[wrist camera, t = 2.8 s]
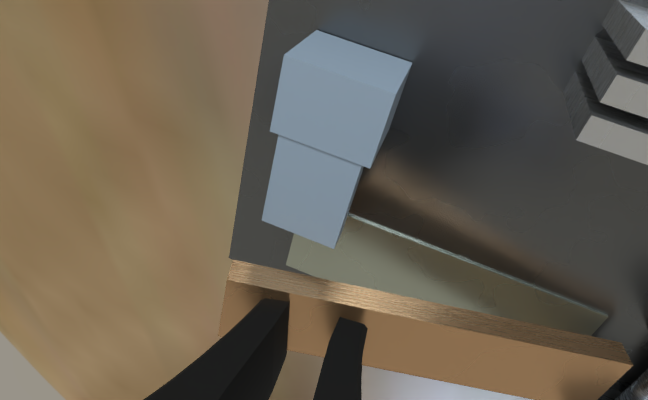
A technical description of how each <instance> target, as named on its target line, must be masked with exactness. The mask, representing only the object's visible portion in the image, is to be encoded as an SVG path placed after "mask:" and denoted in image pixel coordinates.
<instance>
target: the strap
mask: <svg viewBox="0 0 648 400" xmlns="http://www.w3.org/2000/svg"><path fill="white" fill-rule="evenodd" d="M264 298H268V299H275V300H281V301H287V302H290V307H289V323H288V338H287V350H290V351H295V352H300V353H305V354H310V355H315V356H320V357H325V354H326V351H327V347H328V343H329V340H330V338H331V336H332V333H333V331H334V329H335V327H336V324H337V322H338V320H339V318H340V317H342V318H345V319H349V320H352V321H356V322H359V323H363V324H365V326H366V327H367V328H368V330H367V335H366V340H365V345H364V350H363V357H362V365H365V366H370V367H375V368H379V369H384V370H389V371H394V372H399V373H404V374H409V375H414V376H419V377H424V378H429V379H434V380H439V381H444V382H449V383H454V384H459V385H464V386H469V387H474V388H479V389H484V390H489V391H494V392H499V393H504V394H509V395H514V396H519V397H524V398H529V399H534V400H597V399H598V398H599V397H601V396H602V395H603V394H604V393H605V392H606V391H607V390H608V389H609V388H610V387H611V386H612V385H613V384H614V383H615V382H616V381H617V380H618V379H619V378H621V377H622V376H623V375H624V374H625V373H626V372H627V371H628V370H629V369H630V368H631V367H632V366H633V364H632V362H631V360H630V358H629V356H628V354H627V352H626V350H625V348H624V346H623V344H622V343H621V342H617V341H612V340H607V339H603V338H598V337H593V336H589V335H584V334H579V333H575V332H570V331H565V330H561V329H556V328H551V327H547V326H542V325H537V324H532V323H528V322H523V321H518V320H514V319H509V318H504V317H500V316H495V315H490V314H486V313H481V312H476V311H472V310H467V309H462V308H458V307H453V306H448V305H444V304H439V303H434V302H430V301H425V300H420V299H416V298H411V297H406V296H402V295H397V294H392V293H388V292H383V291H378V290H374V289H369V288H364V287H360V286H355V285H350V284H346V283H341V282H336V281H332V280H327V279H322V278H318V277H313V276H308V275H304V274H299V273H294V272H290V271H285V270H280V269H276V268H271V267H266V266H262V265H257V264H252V263H248V262H243V261H238V260H234V259H233V262H232V265H231V269H230V272H229V275H228V278H227V283H226V289H225V295H224V302H223V308H222V314H221V321H220V327H219V333H218V336H220V337H223V336H224V335H226V334H227V333H228V332H229V331H230V330H231V329H232V328H233V327H234V326H235V325H236V324H237V323H238V322H239V321H241V320H242V319H243V318H244V317H245V316H246V315H247V314H248V313H249V312H250V311H251V310H252V309H253V308H254V307H255V306H256V305H257V304H258V303H259V301H260V300H262V299H264ZM615 400H648V369H647V370H646V371H645V372H644V373H643V374H642V375H641V376H640V377H638V378H637V379H636V380H635V381H634V382H633V383H632V384H631V385H630V386H629V387H628V388H626V389H625V390H624V391H623V392H622V393H621V394H620V395H619V396H618V397H617V398H616V399H615Z"/></svg>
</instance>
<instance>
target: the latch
mask: <svg viewBox="0 0 648 400" xmlns="http://www.w3.org/2000/svg"><path fill="white" fill-rule="evenodd" d="M411 66H412V62H409V61H406V60H403V59H400V58H397V57H394V56H391V55H388V54H385V53H382V52H379V51H377V50H374V49H371V48H368V47H365V46H362V45H359V44H356V43H353V42H350V41H347V40H344V39H342V38H339V37H336V36H333V35H330V34H327V33H324V32H321V31H318V30H316V31H314V32H313V33H312V34H311V35H309V36H308V37H307V38H305V39H304V40H303V41H301V42H300V43H299V44H297V45H296V46H295V47H294V48H292V49H291V50H290V51H288V52H287V53H286V54H284V57H283V63H282V68H281V73H280V79H279V84H278V90H277V95H276V100H275V106H274V111H273V117H272V122H271V127H270V132H273V133H276V134H278V140H277V145H276V150H275V155H274V160H273V165H272V170H271V175H270V180H269V185H268V190H267V195H266V200H265V205H264V210H263V215H262V221H264V222H267V223H269V224H272V225H275V226H277V227H280V228H282V229H285V230H287V231H290V232H292V233H295V234H297V235H300V236H302V237H305V238H307V239H310V240H312V241H315V242H317V243H320V244H322V245H325V246H327V247H330V248H332V249H334V248H335V246H336V244H337V242H338V240H339V238H340V235H341V233H342V230H343V227H344V225H345V222H346V219H347V216H348V213H349V210H350V207H351V204H352V201H353V198H354V195H355V192H356V189H357V186H358V183H359V180H360V177H361V174H362V171H363V168H364V167H367V168H369V169H370V168H371V166H372V164H373V162H374V160H375V158H376V156H377V153H378V151H379V149H380V147H381V145H382V143H383V141H384V139H385V137H386V135H387V133H388V131H389V128H390V125H391V122H392V119H393V117H394V114H395V111H396V108H397V105H398V103H399V100H400V97H401V94H402V91H403V88H404V86H405V83H406V80H407V77H408V74H409V71H410V69H411Z"/></svg>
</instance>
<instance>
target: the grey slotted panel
mask: <svg viewBox="0 0 648 400" xmlns="http://www.w3.org/2000/svg"><path fill="white" fill-rule="evenodd" d="M316 30H318V31H321V32H324V33H327V34H330V35H333V36H336V37H339V38H342V39H344V40H347V41H350V42H353V43H356V44H359V45H362V46H365V47H368V48H371V49H374V50H377V51H379V52H382V53H385V54H388V55H391V56H394V57H397V58H400V59H403V60H406V61H409V62H412V66H411V69H410V71H409V74H408V77H407V80H406V83H405V86H404V88H403V91H402V94H401V97H400V100H399V103H398V105H397V108H396V111H395V114H394V117H393V119H392V122H391V125H390V128H389V131H388V133H387V135H386V137H385V139H384V141H383V143H382V145H381V147H380V149H379V151H378V153H377V156H376V158H375V160H374V162H373V164H372V166H371V168H370V169H369V168H367V167H364V168H363V171H362V174H361V177H360V180H359V183H358V186H357V189H356V192H355V195H354V198H353V201H352V204H351V207H350V210H349V213H348V216H347V219H346V222H345V225H344V227H343V230H342V233H341V235H340V238H339V240H338V242H337V244H336V246H335V248H334V249H332V248H330V247H327V246H325V245H322V244H320V243H317V242H315V241H312V240H310V239H307V238H305V237H302V236H300V235H297V234H295V233H292V232H290V231H287V230H285V229H282V228H280V227H277V226H275V225H272V224H269V223H267V222H264V221H262V215H263V210H264V205H265V200H266V195H267V190H268V185H269V180H270V175H271V170H272V165H273V160H274V155H275V150H276V145H277V140H278V134H276V133H273V132H270V127H271V122H272V117H273V111H274V106H275V100H276V95H277V90H278V84H279V79H280V73H281V68H282V63H283V57H284V54H286V53H287V52H288V51H290V50H291V49H292V48H294V47H295V46H296V45H297V44H299V43H300V42H301V41H303V40H304V39H305V38H307V37H308V36H309V35H311V34H312V33H313V32H314V31H316ZM229 258H230V259H234V260H238V261H243V262H248V263H252V264H257V265H262V266H266V267H271V268H276V269H280V270H285V271H290V272H294V273H299V274H304V275H308V276H313V277H318V278H322V279H327V280H332V281H336V282H341V283H346V284H350V285H355V286H360V287H364V288H369V289H374V290H378V291H383V292H388V293H392V294H397V295H402V296H406V297H411V298H416V299H420V300H425V301H430V302H434V303H439V304H444V305H448V306H453V307H458V308H462V309H467V310H472V311H476V312H481V313H486V314H490V315H495V316H500V317H504V318H509V319H514V320H518V321H523V322H528V323H532V324H537V325H542V326H547V327H551V328H556V329H561V330H565V331H570V332H575V333H579V334H584V335H589V336H593V337H598V338H603V339H607V340H612V341H617V342H621V343H622V344H623V346H624V348H625V350H626V352H627V354H628V356H629V358H630V360H631V362H632V364H633V366H632V367H631V368H630V369H629V370H628V371H627V372H626V373H625V374H624V375H623V376H622V377H621V378H619V379H618V380H617V381H616V382H615V383H614V384H613V385H612V386H611V387H610V388H609V389H608V390H607V391H606V392H605V393H604V394H603V395H602V396H601V397H599V398H598V399H597V400H615V399H616V398H617V397H618V396H619V395H620V394H621V393H622V392H623V391H624V390H625V389H626V388H628V387H629V386H630V385H631V384H632V383H633V382H634V381H635V380H636V379H637V378H638V377H640V376H641V375H642V374H643V373H644V372H645V371H646V370H647V369H648V0H269V4H268V11H267V17H266V23H265V30H264V36H263V43H262V49H261V56H260V62H259V68H258V75H257V81H256V88H255V94H254V101H253V107H252V114H251V120H250V126H249V133H248V139H247V146H246V152H245V159H244V165H243V171H242V178H241V184H240V191H239V197H238V204H237V210H236V216H235V223H234V229H233V236H232V242H231V249H230V255H229Z"/></svg>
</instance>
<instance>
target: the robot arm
mask: <svg viewBox="0 0 648 400" xmlns="http://www.w3.org/2000/svg"><path fill="white" fill-rule="evenodd" d="M289 307H290V302H287V301H281V300H275V299H268V298H264V299H262V300H260V301H259V303H258V304H257V305H256V306H255V307H254V308H253V309H252V310H251V311H250V312H249V313H248V314H247V315H246V316H245V317H244V318H243V319H242V320H241V321H239V322H238V323H237V324H236V325H235V326H234V327H233V328H232V329H231V330H230V331H229V332H228V333H227V334H226V335H224V336H223V337H222V338H221V339H220V340H219V341H218V342H216V343H215V344H214V345H213V346H212V347H211V348H210V349H209V350H207V351H206V352H205V353H204V354H203V355H202V356H200V357H199V358H198V359H197V360H195V361H194V362H193V363H192V364H190V365H189V366H188V367H187V368H185V369H184V370H183V371H182V372H180V373H179V374H178V375H177V376H175V377H174V378H173V379H171V380H170V381H169V382H167V383H166V384H165V385H163V386H162V387H161V388H159V389H158V390H157V391H155V392H154V393H152V394H151V395H150V396H148V397H147V398H145V399H144V400H268V399H269V397H270V395H271V393H272V391H273V389H274V386H275V383H276V381H277V378H278V376H279V373H280V371H281V368H282V365H283V363H284V360H285V357H286V354H287V338H288V323H289ZM367 330H368V328H367V327H366V326H365V324H363V323H359V322H356V321H352V320H349V319H345V318H342V317H340V318H339V320H338V322H337V324H336V327H335V329H334V331H333V333H332V336H331V338H330V340H329V343H328V347H327V351H326V354H325V358H324V362H323V365H322V369H321V373H320V376H319V380H318V384H317V387H316V391H315V395H314V398H313V400H361V373H362V357H363V350H364V345H365V340H366V335H367Z"/></svg>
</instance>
